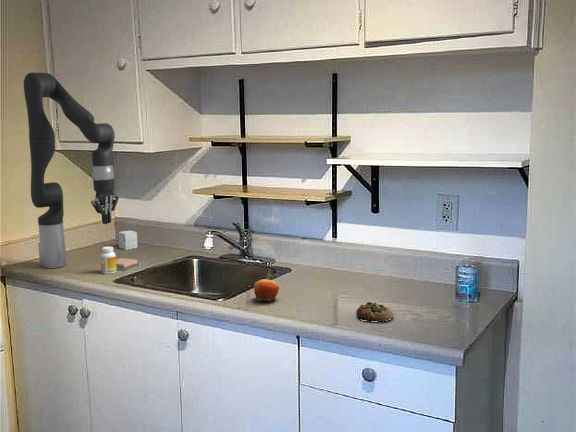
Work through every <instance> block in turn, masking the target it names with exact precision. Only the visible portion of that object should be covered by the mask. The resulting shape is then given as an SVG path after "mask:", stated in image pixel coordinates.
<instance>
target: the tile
mask: <svg viewBox="0 0 576 432" xmlns="http://www.w3.org/2000/svg"><path fill="white" fill-rule="evenodd" d="M133 264H138V259H133V258H124V257H123V258H121V257H120V258H117V259H116V267H123V268H125V267H127V266H130V265H133Z"/></svg>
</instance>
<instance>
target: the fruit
mask: <svg viewBox="0 0 576 432" xmlns="http://www.w3.org/2000/svg"><path fill="white" fill-rule="evenodd" d="M279 290H280V286H279V284H278V283H277V282H276V281H274V280H272V279H265V278H264V279H262V278H261V279H260V280H258V281H255V283H254V286H253V291H254V295H255V299H256V300H257V302H263V301H267V302H269V303H271V301H272V300H275V298H277V295H278V294H279ZM262 300H263V301H262Z"/></svg>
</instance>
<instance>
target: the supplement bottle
mask: <svg viewBox="0 0 576 432" xmlns="http://www.w3.org/2000/svg"><path fill="white" fill-rule="evenodd" d="M101 250H102V253H101V254H100V264H101V267H102V268H101V273H102V274H104V275H110V274H115V273H117V271H118V270H117V268H116V260H117V259H116V257H117V255H116V253H115V252H114V247H113V246H104V247H102V248H101Z"/></svg>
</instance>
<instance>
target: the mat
mask: <svg viewBox="0 0 576 432" xmlns="http://www.w3.org/2000/svg"><path fill="white" fill-rule="evenodd" d="M139 265H140V264H139V263H135V264H133V265H130V266H127V267H125V268H123V267H116V268H117V271H123V272H125V271H127V270H130V269H132V268H135V267H137V266H139ZM101 269H102V266H101Z"/></svg>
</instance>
